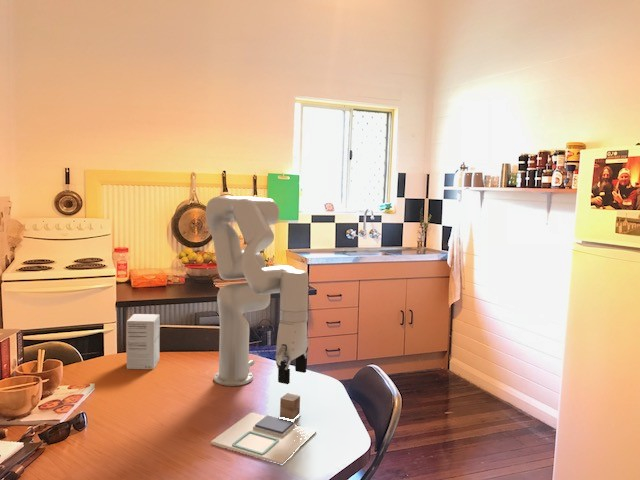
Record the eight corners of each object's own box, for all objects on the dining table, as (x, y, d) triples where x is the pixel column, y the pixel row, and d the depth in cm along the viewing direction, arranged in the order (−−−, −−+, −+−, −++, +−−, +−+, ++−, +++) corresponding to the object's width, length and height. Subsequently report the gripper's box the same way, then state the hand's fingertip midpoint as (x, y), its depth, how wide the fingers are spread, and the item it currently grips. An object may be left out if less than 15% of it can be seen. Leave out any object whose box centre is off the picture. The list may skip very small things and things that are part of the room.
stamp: (286, 412, 142) (287, 392, 141) (300, 416, 140) (301, 395, 139) (278, 419, 138) (279, 398, 137) (293, 423, 136) (293, 401, 135)
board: (251, 415, 139) (251, 408, 139) (316, 432, 131) (316, 425, 131) (211, 444, 123) (211, 436, 123) (282, 466, 115) (282, 457, 115)
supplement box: (133, 359, 178) (133, 313, 176) (159, 359, 179) (160, 313, 178) (125, 369, 169) (125, 320, 167) (154, 369, 170) (154, 321, 168)
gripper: (296, 308, 145) (295, 365, 147) (265, 320, 129) (264, 385, 131) (319, 311, 142) (318, 369, 143) (290, 324, 126) (289, 390, 128)
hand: (292, 377), depth 137 cm, fingers open, 9 cm apart
